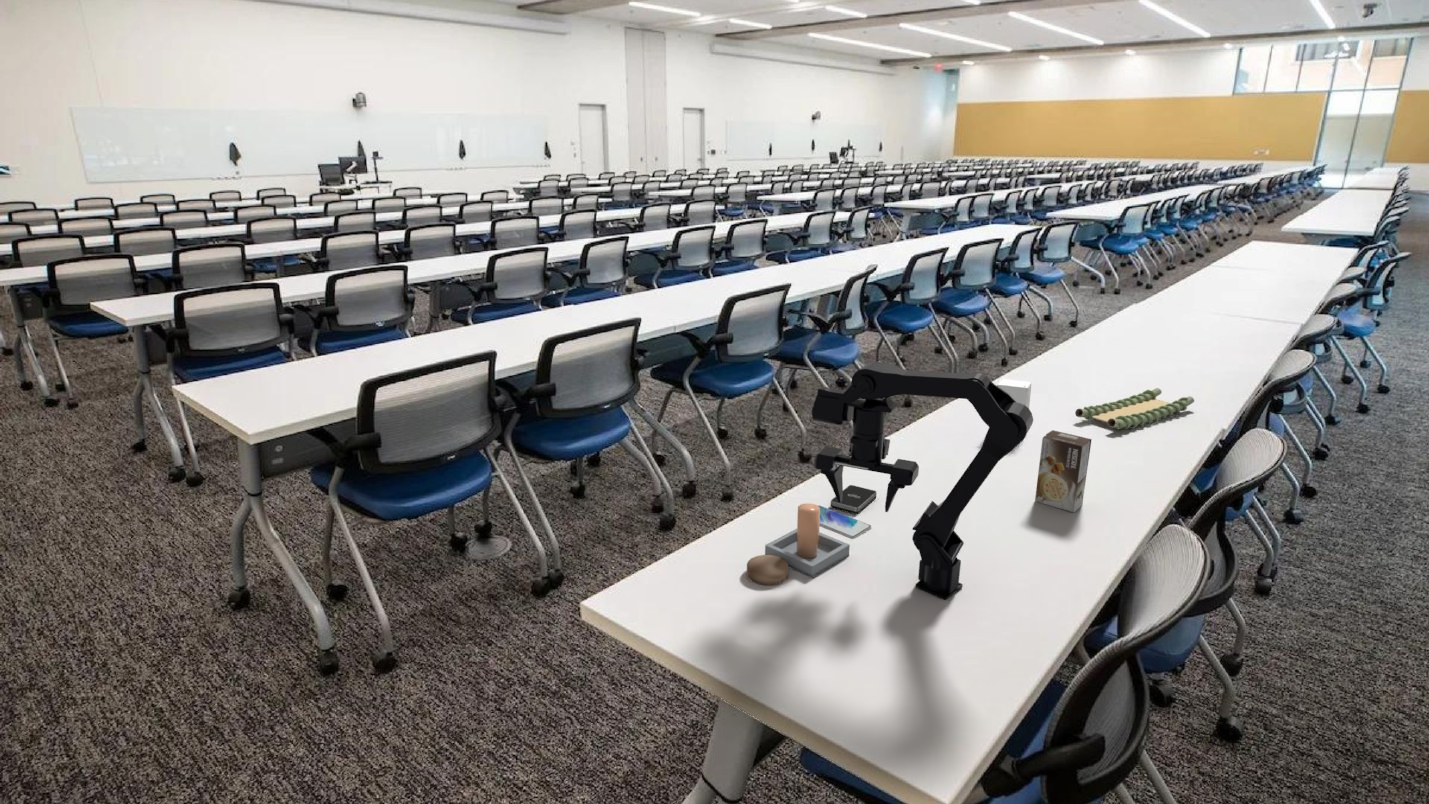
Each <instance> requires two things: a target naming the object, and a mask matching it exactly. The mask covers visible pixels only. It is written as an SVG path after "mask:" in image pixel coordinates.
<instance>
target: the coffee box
mask: <svg viewBox="0 0 1429 804" xmlns="http://www.w3.org/2000/svg"><path fill="white" fill-rule="evenodd" d="M1092 440H1093V439H1092V438H1088V437H1087V438H1086V437H1083V436H1079V435H1076V434H1075V435H1074V434H1072V433H1071V434H1069V433H1068V432H1062V431H1057V430H1051V431H1049V432H1047V433H1046V434H1045V435H1043V437H1042V440H1041V449H1040V454H1039V455H1040V458H1039V466H1038V474H1037V480H1036V481H1037V482H1036V491H1035V497H1034V502H1036V503H1040V504H1044V505H1045V506H1046V505H1047V506H1050V507H1053V508H1057V509H1060V510H1065V511H1068V512H1071V513H1076V511H1077V510H1078V509H1080V508H1081V507H1082V506H1083V505H1084V494H1085V489H1086V487H1085V486H1086V482H1087V481H1086V480H1087V473H1088V468H1089V467H1088V466H1089V460H1090V453H1091V446H1092Z"/></svg>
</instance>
